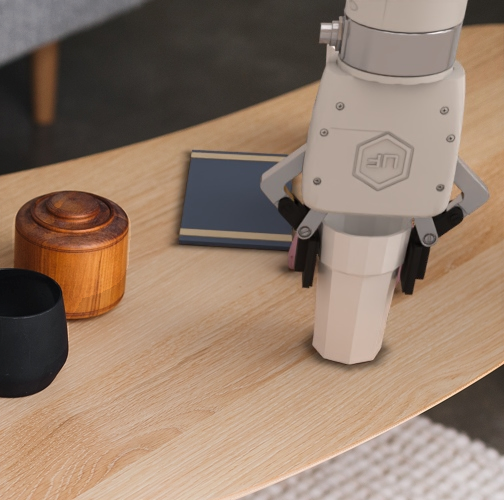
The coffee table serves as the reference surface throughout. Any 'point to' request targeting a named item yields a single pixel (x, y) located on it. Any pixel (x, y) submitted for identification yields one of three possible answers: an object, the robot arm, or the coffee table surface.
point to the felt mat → (232, 202)
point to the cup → (356, 283)
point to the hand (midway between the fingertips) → (356, 280)
